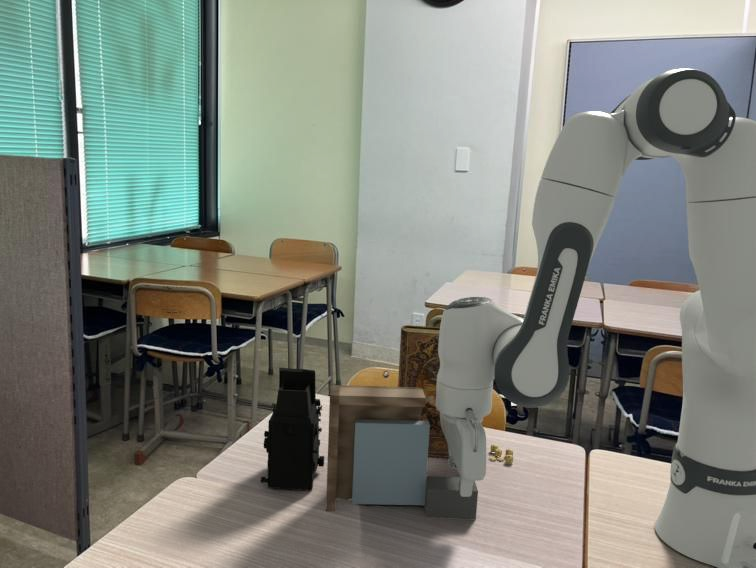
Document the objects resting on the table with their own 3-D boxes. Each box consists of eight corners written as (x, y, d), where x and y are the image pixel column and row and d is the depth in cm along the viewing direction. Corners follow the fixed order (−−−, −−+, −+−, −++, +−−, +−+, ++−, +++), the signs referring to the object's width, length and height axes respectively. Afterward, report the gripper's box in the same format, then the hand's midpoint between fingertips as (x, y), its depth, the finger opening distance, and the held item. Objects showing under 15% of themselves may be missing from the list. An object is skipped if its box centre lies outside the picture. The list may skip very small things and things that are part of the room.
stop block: (471, 505, 101) (473, 477, 100) (475, 520, 96) (478, 491, 95) (423, 503, 100) (425, 475, 100) (425, 518, 96) (427, 489, 95)
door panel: (423, 500, 100) (428, 420, 98) (424, 505, 99) (429, 424, 97) (351, 498, 100) (355, 419, 98) (352, 503, 98) (355, 422, 96)
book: (393, 455, 118) (400, 331, 114) (395, 443, 123) (401, 324, 119) (478, 462, 116) (487, 337, 112) (476, 450, 122) (485, 330, 118)
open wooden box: (415, 497, 102) (421, 387, 99) (418, 512, 97) (425, 397, 94) (327, 495, 101) (330, 385, 98) (325, 511, 97) (329, 395, 93)
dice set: (490, 452, 122) (491, 443, 122) (516, 458, 120) (516, 449, 120) (485, 462, 118) (486, 453, 117) (511, 468, 116) (512, 459, 115)
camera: (327, 458, 115) (330, 357, 112) (317, 494, 102) (321, 380, 98) (275, 455, 115) (277, 354, 112) (259, 491, 102) (261, 377, 99)
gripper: (499, 424, 85) (493, 514, 87) (470, 378, 105) (466, 452, 108) (455, 423, 85) (451, 514, 87) (435, 378, 105) (431, 452, 107)
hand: (459, 479), depth 98 cm, fingers open, 8 cm apart
